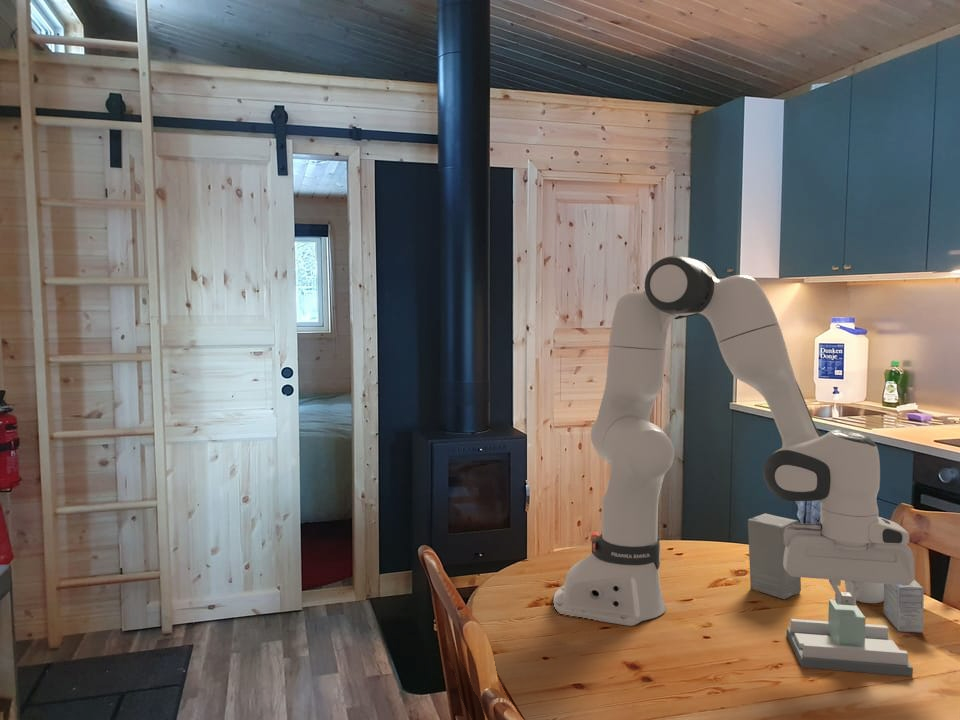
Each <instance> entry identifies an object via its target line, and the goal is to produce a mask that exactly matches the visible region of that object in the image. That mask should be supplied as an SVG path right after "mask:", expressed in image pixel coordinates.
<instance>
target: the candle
mask: <svg viewBox="0 0 960 720" xmlns="http://www.w3.org/2000/svg"><path fill="white" fill-rule="evenodd" d="M844 586H845V592H850V590H851V589H852V587H853V586H854V584H853V583H852V581H844ZM856 602H860V603H865V604H880V603H882V602H883V603H884V584H883V583H870V582H864V589H863V590H862V591H861V592H860V594H859V595H858V596H857V597H856Z"/></svg>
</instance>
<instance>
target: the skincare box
mask: <svg viewBox="0 0 960 720" xmlns="http://www.w3.org/2000/svg"><path fill="white" fill-rule="evenodd" d="M793 523H799V520H797V519H792V518H788V517H782V516H777V515H774V514H769V513H766V512H765V513H763V514H760V515H756V516H754V517H750V518H748V519H747V531H748V532H747V533H748V553H749V558H748V559H749V578H750V579H749V580H750V581H749V582H750V584H749V585H750V589H751V590H754V591H756V592H760V593H763V594H765V595H769V596H771V597H772V596H773V597H775V598H779V599H782V600H786V599H788V598H790V597H793V596H795V595H798V594H800V593H801V591H802V583H801V581H802V580H801V579H802V577H792V576H790V575H789V574H788V573H787V572H786V571H785V569H784V566H783V559H784V552H785V546H786V545H785V544H784V541H783V535H784V530H785V528H786V527H787V526H789V525H793ZM791 528H793V527H791Z"/></svg>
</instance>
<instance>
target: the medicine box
mask: <svg viewBox="0 0 960 720" xmlns="http://www.w3.org/2000/svg"><path fill="white" fill-rule="evenodd" d="M924 595H925V594H924V587H923V586H921V584H920V583H919V582H918V581H916V579H914V581H913V582H912V583H911V584H910V585H896V584H884V601H883V614H884V616H885V617H886V618H887V619H888V621H889V622H890V623H891V624H892V625H893V627H894V628H895V629H896V630H897V631H898V632H902V633H903V632H904V633H917V634H918V633H920V634H922V633H924V597H925V596H924Z"/></svg>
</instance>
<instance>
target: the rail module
mask: <svg viewBox="0 0 960 720" xmlns="http://www.w3.org/2000/svg"><path fill="white" fill-rule="evenodd" d="M827 615H828V617H827V618H828V632H829V634H830V636H831V637H832V639H833V641H834V642H835V644H836V645H840V646H853V647H865V624H866V616H865V615H864V614H863V612H862V611H861V610H860V608H859V607H858V605H857V604H856V606H850V605H838V604H837V603H836V601H835V599H828V614H827Z"/></svg>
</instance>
